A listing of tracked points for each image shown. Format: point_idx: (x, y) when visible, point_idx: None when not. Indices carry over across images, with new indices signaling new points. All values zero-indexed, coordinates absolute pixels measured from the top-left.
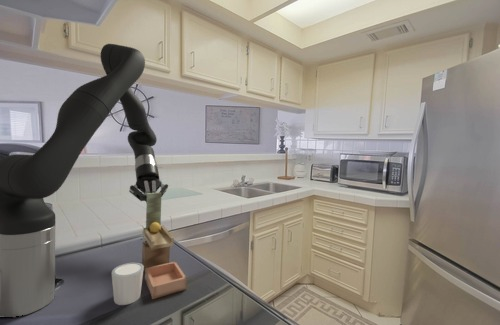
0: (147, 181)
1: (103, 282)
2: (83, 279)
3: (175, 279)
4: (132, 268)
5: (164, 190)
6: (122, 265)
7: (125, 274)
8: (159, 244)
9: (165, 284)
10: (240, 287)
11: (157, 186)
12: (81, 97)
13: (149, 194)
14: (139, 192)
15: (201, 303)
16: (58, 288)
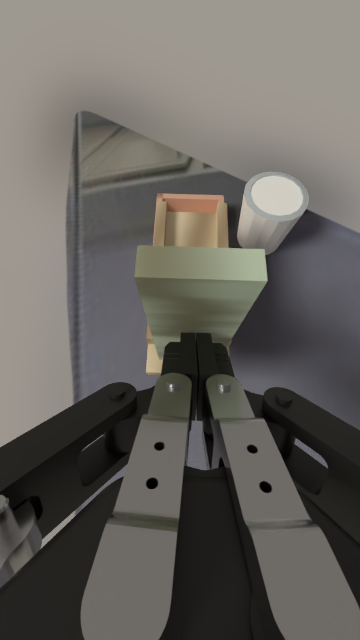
0: (281, 626)
1: (304, 308)
2: (349, 343)
3: (178, 197)
4: (267, 195)
5: (29, 434)
6: (288, 215)
7: (281, 179)
8: (200, 213)
9: (199, 196)
10: (72, 174)
11: (83, 519)
12: None
13: (246, 252)
14: (332, 433)
15: (152, 171)
16: None
